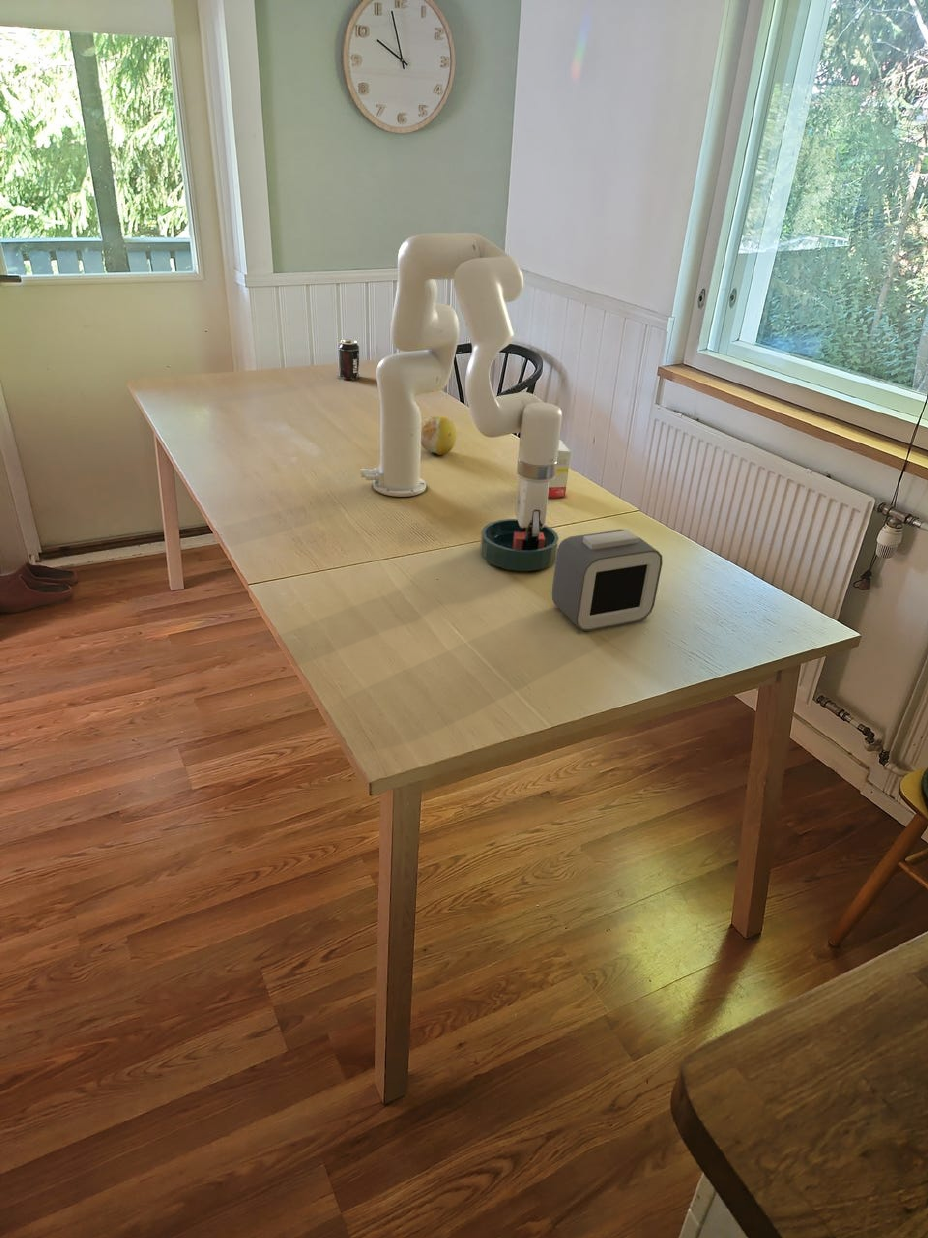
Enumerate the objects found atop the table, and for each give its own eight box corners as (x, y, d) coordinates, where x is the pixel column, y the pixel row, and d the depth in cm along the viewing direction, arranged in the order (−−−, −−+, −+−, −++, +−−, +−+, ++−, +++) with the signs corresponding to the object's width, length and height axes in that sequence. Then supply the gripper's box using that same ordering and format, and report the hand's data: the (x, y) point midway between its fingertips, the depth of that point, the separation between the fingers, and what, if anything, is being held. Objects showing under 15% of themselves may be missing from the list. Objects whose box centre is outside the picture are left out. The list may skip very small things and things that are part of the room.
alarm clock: (574, 633, 148) (586, 554, 140) (544, 603, 157) (553, 527, 149) (651, 619, 154) (666, 542, 146) (618, 590, 163) (630, 516, 155)
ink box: (566, 498, 202) (572, 450, 196) (546, 498, 201) (552, 451, 195) (555, 484, 209) (561, 438, 203) (536, 485, 208) (541, 438, 202)
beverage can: (336, 379, 280) (335, 342, 274) (342, 374, 286) (341, 338, 279) (356, 381, 279) (355, 344, 273) (361, 376, 285) (361, 340, 279)
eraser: (514, 556, 171) (516, 538, 169) (512, 548, 174) (514, 531, 172) (543, 556, 172) (545, 539, 170) (540, 549, 175) (542, 532, 173)
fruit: (436, 443, 230) (438, 407, 225) (463, 454, 224) (466, 418, 219) (408, 451, 224) (409, 414, 219) (435, 462, 218) (437, 425, 213)
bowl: (484, 573, 166) (485, 551, 163) (477, 539, 179) (478, 518, 177) (561, 575, 167) (564, 552, 165) (548, 541, 181) (551, 519, 178)
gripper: (512, 453, 170) (504, 535, 180) (523, 483, 156) (514, 571, 166) (548, 454, 171) (539, 535, 180) (562, 484, 157) (551, 571, 166)
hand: (527, 551), depth 173 cm, fingers closed on eraser, 3 cm apart
